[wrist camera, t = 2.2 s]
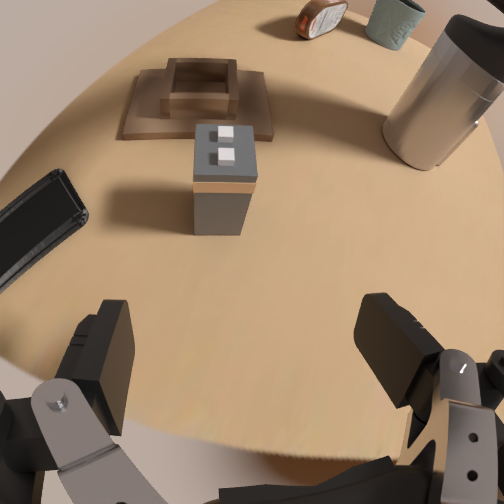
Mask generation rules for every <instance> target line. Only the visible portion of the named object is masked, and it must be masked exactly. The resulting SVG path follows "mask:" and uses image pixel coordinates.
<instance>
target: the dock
mask: <svg viewBox="0 0 504 504" xmlns="http://www.w3.org/2000/svg"><path fill="white" fill-rule="evenodd" d="M196 124H218V125H243V126H253V133H254V140H256V141H271V142H272V139H273V136H274V135H273V128H272V122H271V116H270V109H269V103H268V97H267V91H266V85H265V79H264V73H263V72H256V71H243V70H237V64H236V60H234V59H213V58H169V59H168V63H167V67H166V69H149V70H141V71H140V74H139V77H138V80H137V83H136V86H135V89H134V93H133V96H132V99H131V103H130V106H129V110H128V114H127V117H126V121H125V125H124V129H123V133H122V136H123V140H140V139H195V131H196Z"/></svg>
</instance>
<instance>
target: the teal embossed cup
mask: <svg viewBox="0 0 504 504" xmlns="http://www.w3.org/2000/svg"><path fill="white" fill-rule="evenodd" d="M425 14H426V12H425V10H424V9H423V8H422V7H420V6H419V5H418V4H416V3H415V2H413V1H412V0H377V2H376V4H375V7H374V9H373V12H372V15H371V16H370V19H369V22H368V24H367V26H366V29H365V33H366V35H367V36H368V37H369V38H370V39H372V40H373V41H374V42H376V43H378V44H379V45H381V46H383V47H385V48H388V49H391V50H399V49H400V48H401V47H402V45H403V44H404V43H405V41H406V40H407V38H408V37H409V36H410V34H411V33H412V31H413V30H414V28H415V27H416V26H417V25H418V23H419V21H421V19H422V18H423V17H424V16H425Z"/></svg>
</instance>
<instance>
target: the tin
mask: <svg viewBox="0 0 504 504" xmlns="http://www.w3.org/2000/svg"><path fill="white" fill-rule="evenodd" d="M347 8H348V3H347V2H346V1H345V0H311V1H310V2H308V3H307V4H306V5H305V6H304V8H303V9H302V10H301V12H300V14H299V16H298V17H297V20H296V23H295V32H296V34H299V35H301V36H303V37H304V38H306V39H309V40H311V39H314V38H317V37H319V36H321V35H324V34H326V33H329V32H331V31H332V30H334V29H335V28H336V27H337V26H338V24H339V23H340V21H341V19H342V17H343V15H344V13H345V11H346V10H347Z"/></svg>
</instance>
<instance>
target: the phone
mask: <svg viewBox="0 0 504 504" xmlns="http://www.w3.org/2000/svg"><path fill="white" fill-rule="evenodd" d="M88 217H89V213H88V211H87V209H86V207H85V206H84V204H83V202H82V201H81V199H80V197H79V196H78V194H77V192H76V191H75V189H74V187H73V185H72V184H71V182H70V180H69V178H68V177H67V175H66V173H65V171H64V170H63V169H55V170H53V171H51V172H50V173H48V174H47V175H46V176H44V177H43V178H42V179H40V180H39V181H38V182H36V183H35V184H34V185H32V186H31V187H30V188H28V189H27V190H26V191H24V192H23V193H22V194H21V195H19V196H18V197H17V198H16V199H14V200H13V201H12V202H11V203H10V204H8V205H7V206H6V207H5V208H4V209H2V210H1V211H0V294H1V293H2V292H3V291H4V290H5V289H6V288H8V287H9V286H10V285H11V284H12V283H13V282H14V281H15V280H17V279H18V278H19V277H20V276H21V275H22V274H24V273H25V272H26V271H27V270H28V269H29V268H31V267H32V266H33V265H34V264H35V263H37V262H38V261H39V260H40V259H41V258H43V257H44V256H45V255H46V254H48V253H49V252H50V251H51V250H53V249H54V248H55V247H56V246H58V245H59V244H60V243H61V242H63V241H64V240H65V239H67V238H68V237H69V236H71V235H72V234H73V233H75V232H76V231H77V230H79V229H80V228H81V227H83V226H84V225H85V224H86V222H87V221H88Z"/></svg>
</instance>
